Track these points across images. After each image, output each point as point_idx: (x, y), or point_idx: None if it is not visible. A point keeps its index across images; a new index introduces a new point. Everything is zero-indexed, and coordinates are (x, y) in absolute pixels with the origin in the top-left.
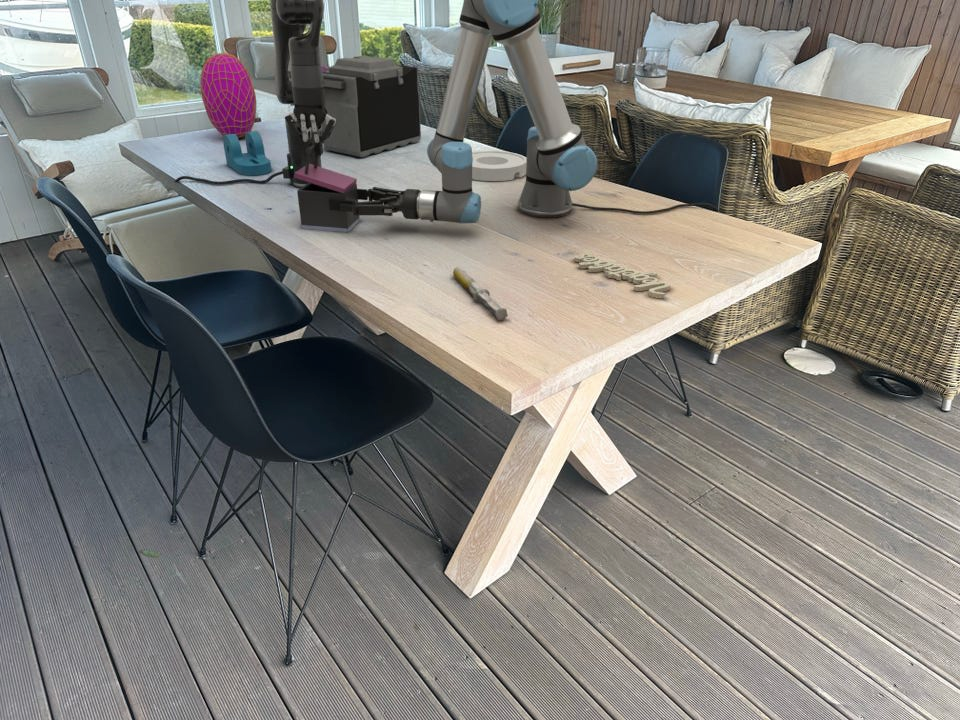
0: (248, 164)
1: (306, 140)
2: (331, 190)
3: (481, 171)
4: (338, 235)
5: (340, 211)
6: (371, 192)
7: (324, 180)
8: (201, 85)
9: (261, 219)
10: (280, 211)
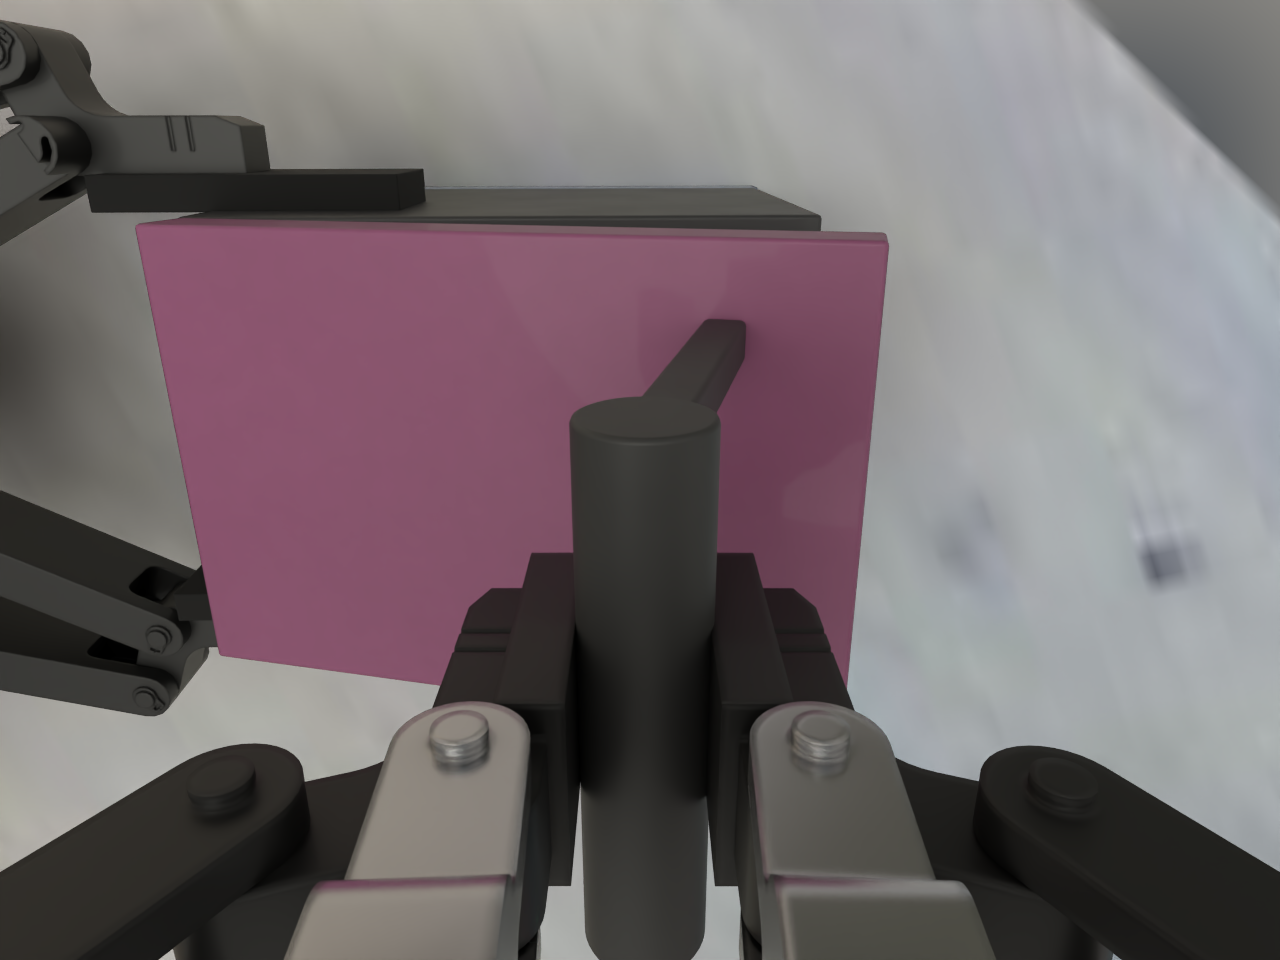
0: None
1: (780, 727)
2: None
3: None
4: (371, 90)
5: None
6: (131, 592)
7: (434, 302)
8: None
9: (1163, 327)
10: (1062, 535)
